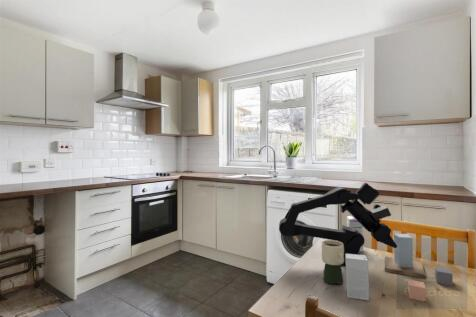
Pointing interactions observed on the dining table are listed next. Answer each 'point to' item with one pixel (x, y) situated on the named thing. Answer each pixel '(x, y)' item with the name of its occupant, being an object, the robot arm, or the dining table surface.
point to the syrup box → (355, 226)
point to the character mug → (333, 260)
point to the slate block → (403, 250)
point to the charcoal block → (443, 276)
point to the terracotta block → (416, 290)
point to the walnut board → (404, 268)
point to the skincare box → (357, 276)
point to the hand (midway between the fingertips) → (391, 243)
